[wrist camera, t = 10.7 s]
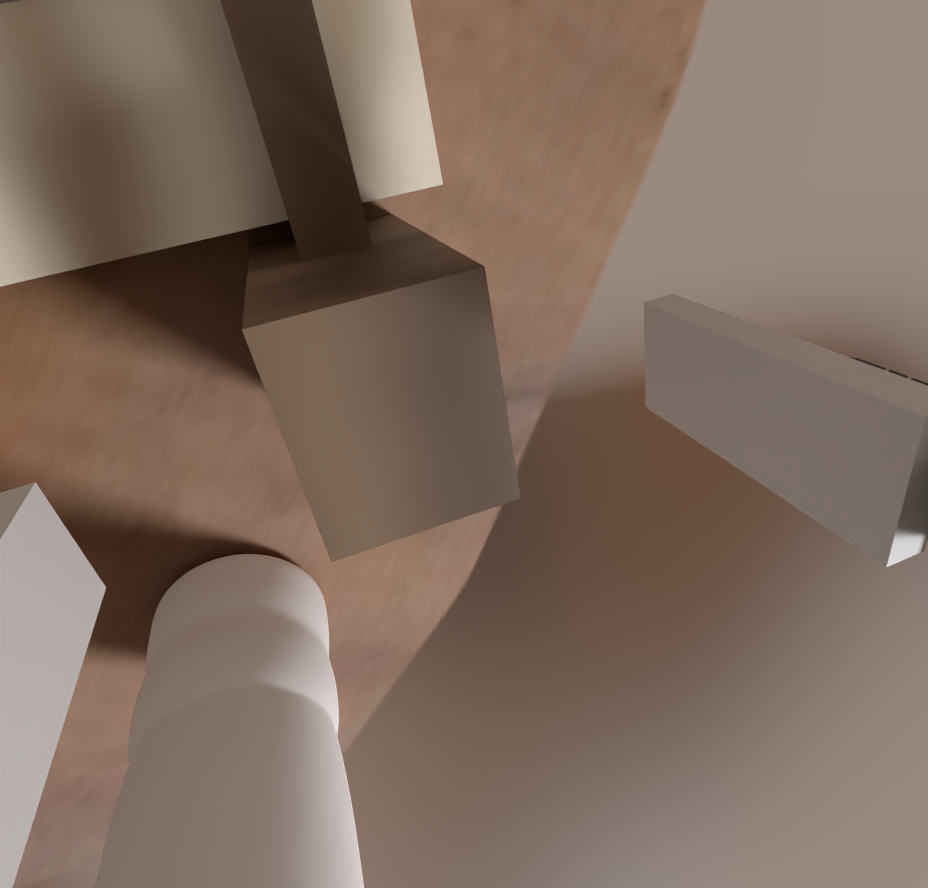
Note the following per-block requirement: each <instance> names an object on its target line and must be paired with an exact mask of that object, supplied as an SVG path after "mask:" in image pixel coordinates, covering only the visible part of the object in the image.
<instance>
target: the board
mask: <svg viewBox="0 0 928 888" xmlns="http://www.w3.org/2000/svg"><path fill="white" fill-rule="evenodd" d="M312 3H313V7H314V11H315V15H316V19H317V23H318V27H319V31H320V35H321V39H322V44H323V48H324V52H325V56H326V60H327V64H328V68H329V72H330V76H331V80H332V84H333V88H334V92H335V96H336V100H337V104H338V108H339V112H340V116H341V120H342V124H343V128H344V132H345V136H346V141H347V145H348V149H349V153H350V157H351V161H352V165H353V169H354V173H355V177H356V181H357V185H358V189H359V193H360V197H361V201H362V203H364V202H369V201H373V200H378V199H382V198H386V197H391V196H395V195H399V194H404V193H408V192H412V191H417V190H421V189H425V188H430V187H434V186H438V185H443V182H442V177H441V171H440V165H439V160H438V154H437V149H436V143H435V138H434V132H433V126H432V121H431V115H430V110H429V104H428V98H427V93H426V87H425V82H424V76H423V70H422V65H421V59H420V54H419V48H418V42H417V37H416V31H415V26H414V20H413V15H412V9H411V3H410V0H312ZM286 220H289V219H288V216H287V213H286V210H285V206H284V203H283V200H282V197H281V194H280V190H279V187H278V184H277V181H276V178H275V174H274V171H273V168H272V165H271V161H270V158H269V155H268V152H267V149H266V145H265V142H264V139H263V136H262V133H261V129H260V126H259V123H258V120H257V117H256V113H255V110H254V107H253V104H252V101H251V97H250V94H249V91H248V88H247V84H246V81H245V78H244V75H243V72H242V68H241V65H240V62H239V59H238V56H237V52H236V49H235V46H234V43H233V40H232V36H231V33H230V30H229V27H228V24H227V20H226V17H225V14H224V11H223V7H222V4H221V1H220V0H0V286H5V285H9V284H13V283H18V282H22V281H26V280H31V279H35V278H39V277H44V276H48V275H52V274H57V273H61V272H65V271H70V270H74V269H78V268H83V267H87V266H91V265H96V264H100V263H104V262H109V261H113V260H117V259H122V258H126V257H130V256H135V255H139V254H143V253H148V252H152V251H156V250H161V249H165V248H169V247H174V246H178V245H182V244H187V243H191V242H195V241H200V240H204V239H208V238H213V237H217V236H221V235H226V234H230V233H234V232H239V231H243V230H247V229H252V228H256V227H260V226H265V225H269V224H273V223H278V222H282V221H286Z"/></svg>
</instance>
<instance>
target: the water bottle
mask: <svg viewBox="0 0 928 888" xmlns="http://www.w3.org/2000/svg"><path fill="white" fill-rule="evenodd" d="M328 657H329V630H328V620H327V612H326V606H325V602H324V598H323V595H322V593H321V591H320V589H319V587H318V585H317V584H316V583H315V581H314V580H313V579H312V578H311V577H310V576H309V575H308V574H307V573H306V572H305V571H303V570H302V569H301V568H299V567H297V566H296V565H294V564H292V563H290V562H288V561H285V560H282V559H279V558H276V557H272V556H267V555H259V554H239V555H231V556H226V557H221V558H218V559H214V560H211V561H209V562H206V563H203V564H201V565H199V566H197V567H195V568H194V569H192V570H190V571H188V572H187V573H186V574H184V575H183V576H182V577H180V578H179V579H178V580H177V581H176V582H175V583H174V584H173V585H172V586H171V587H170V588H169V589H168V590H167V591H166V593H165V594H164V596H163V597H162V599H161V601H160V603H159V605H158V607H157V609H156V612H155V615H154V618H153V623H152V627H151V632H150V637H149V643H148V650H147V659H146V676H145V678H144V680H143V683H142V685H141V688H140V691H139V694H138V697H137V700H136V703H135V707H134V711H133V716H132V721H131V726H130V734H129V745H128V760H129V766H128V769H127V772H126V775H125V778H124V781H123V784H122V787H121V790H120V793H119V797H118V800H117V803H116V807H115V810H114V813H113V817H112V821H111V824H110V828H109V832H108V835H107V839H106V843H105V847H104V851H103V855H102V859H101V863H100V867H99V871H98V875H97V879H96V884H95V888H364V884H363V877H362V869H361V862H360V855H359V848H358V841H357V834H356V828H355V822H354V816H353V809H352V804H351V797H350V792H349V787H348V782H347V777H346V771H345V767H344V762H343V758H342V753H341V749H340V745H339V742H338V738H337V733H338V721H339V709H338V697H337V689H336V683H335V678H334V673H333V670H332V666H331V663H330V660H329V658H328Z"/></svg>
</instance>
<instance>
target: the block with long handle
mask: <svg viewBox="0 0 928 888" xmlns="http://www.w3.org/2000/svg"><path fill="white" fill-rule="evenodd" d="M220 1H221V4H222V7H223V11H224V14H225V17H226V20H227V24H228V27H229V30H230V33H231V36H232V40H233V43H234V46H235V49H236V52H237V56H238V59H239V62H240V65H241V68H242V72H243V75H244V78H245V81H246V84H247V88H248V91H249V94H250V97H251V101H252V104H253V107H254V110H255V113H256V117H257V120H258V123H259V126H260V129H261V133H262V136H263V139H264V142H265V145H266V149H267V152H268V155H269V158H270V161H271V165H272V168H273V171H274V174H275V178H276V181H277V184H278V187H279V190H280V194H281V197H282V200H283V203H284V206H285V210H286V213H287V216H288V219H289V222H290V226H291V229H292V232H293V235H294V238H289V239H285V240H281V241H277V242H273V243H268V244H264V245H260V246H256V247H251V248H250V251H249V261H248V271H247V281H246V291H245V302H244V312H243V322H242V332H243V334H244V337H245V339H246V342H247V345H248V347H249V350H250V352H251V355H252V357H253V360H254V363H255V365H256V368H257V370H258V373H259V376H260V378H261V381H262V383H263V386H264V389H265V391H266V394H267V396H268V399H269V402H270V404H271V407H272V409H273V412H274V414H275V417H276V420H277V422H278V425H279V427H280V430H281V433H282V435H283V438H284V440H285V443H286V446H287V448H288V451H289V453H290V456H291V459H292V461H293V464H294V466H295V469H296V471H297V474H298V477H299V479H300V482H301V484H302V487H303V490H304V492H305V495H306V497H307V500H308V503H309V505H310V508H311V510H312V513H313V516H314V518H315V521H316V523H317V526H318V528H319V531H320V534H321V536H322V539H323V541H324V544H325V547H326V549H327V552H328V554H329V557H330V560H331V562H333V561H336V560H339V559H342V558H345V557H348V556H351V555H354V554H357V553H360V552H363V551H366V550H369V549H372V548H375V547H377V546H380V545H383V544H386V543H389V542H392V541H395V540H398V539H401V538H404V537H407V536H410V535H413V534H416V533H419V532H422V531H425V530H428V529H431V528H434V527H437V526H440V525H443V524H446V523H449V522H451V521H454V520H457V519H460V518H463V517H466V516H469V515H472V514H475V513H478V512H481V511H484V510H487V509H490V508H493V507H496V506H499V505H502V504H505V503H508V502H511V501H514V500H516V499H520V492H519V486H518V480H517V473H516V467H515V460H514V454H513V447H512V441H511V434H510V428H509V422H508V415H507V409H506V402H505V396H504V389H503V383H502V376H501V370H500V364H499V357H498V351H497V344H496V338H495V331H494V325H493V318H492V312H491V305H490V299H489V293H488V286H487V280H486V273H485V267H484V266H483V265H481V264H479V263H477V262H475V261H474V260H472V259H470V258H468V257H467V256H465V255H463V254H461V253H460V252H458V251H456V250H454V249H452V248H451V247H449V246H447V245H445V244H444V243H442V242H440V241H438V240H437V239H435V238H433V237H431V236H429V235H428V234H426V233H424V232H422V231H421V230H419V229H417V228H415V227H414V226H412V225H410V224H408V223H407V222H405V221H403V220H401V219H399V218H398V217H396V216H394V215H392V214H391V215H387V216H383V217H379V218H374V219H370V220H366V217H365V213H364V209H363V205H362V201H361V197H360V193H359V189H358V185H357V181H356V177H355V173H354V169H353V165H352V161H351V157H350V153H349V149H348V145H347V141H346V136H345V132H344V128H343V124H342V120H341V116H340V112H339V108H338V104H337V100H336V96H335V92H334V88H333V84H332V80H331V76H330V72H329V68H328V64H327V60H326V56H325V52H324V48H323V44H322V39H321V35H320V31H319V27H318V23H317V19H316V15H315V11H314V7H313V3H312V0H220Z"/></svg>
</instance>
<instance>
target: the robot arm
mask: <svg viewBox="0 0 928 888" xmlns="http://www.w3.org/2000/svg"><path fill="white" fill-rule="evenodd" d="M644 324H645V325H644V327H645V387H646V407H647V408H648V409H650V410H651V411H653V412H654V413H656V414H657V415H659V416H660V417H662V418H663V419H665V420H666V421H668V422H669V423H671V424H672V425H674V426H675V427H677V428H678V429H680V430H681V431H683V432H684V433H686V434H687V435H689V436H690V437H692V438H693V439H695V440H696V441H698V442H699V443H701V444H702V445H704V446H705V447H707V448H708V449H710V450H711V451H713V452H714V453H716V454H717V455H719V456H720V457H722V458H723V459H725V460H726V461H728V462H729V463H731V464H732V465H734V466H735V467H737V468H738V469H740V470H741V471H743V472H744V473H746V474H747V475H749V476H750V477H752V478H753V479H755V480H756V481H758V482H759V483H761V484H762V485H764V486H765V487H767V488H768V489H770V490H771V491H773V492H774V493H776V494H777V495H779V496H780V497H782V498H784V499H785V500H786V501H788V502H789V503H791V504H792V505H794V506H795V507H797V508H798V509H800V510H801V511H803V512H804V513H806V514H807V515H809V516H810V517H812V518H813V519H815V520H816V521H818V522H819V523H821V524H822V525H824V526H825V527H827V528H828V529H830V530H831V531H833V532H834V533H836V534H837V535H839V536H840V537H842V538H844V539H845V540H846V541H848V542H849V543H851V544H852V545H854V546H855V547H857V548H858V549H860V550H861V551H863V552H864V553H866V554H867V555H869V556H870V557H872V558H873V559H875V560H876V561H878V562H879V563H881V564H882V565H884V566H885V567H888V566H890V565H893V564H895V563H897V562H900V561H902V560H904V559H906V558H908V557H911V556H913V555H916V554H918V553H920V552H923V551H924V549H925V546H926V542H927V539H928V383H925V382H922V381H919V380H917V379H914V378H912V379H908V378H907V376H906V375H903V374H900V373H897V372H894V371H891V370H889V371H886V370H885V368H883V367H880V366H878V365H875V364H872V363H869V362H866V361H864V360H861V359H858V358H851V357H846V356H844V355H841V354H838V353H835V352H833V351H830V350H827V349H824V348H821V347H819V346H816V345H813V344H810V343H807V342H805V341H802V340H799V339H796V338H793V337H791V336H788V335H785V334H782V333H780V332H777V331H774V330H771V329H768V328H766V327H763V326H760V325H757V324H755V323H752V322H749V321H746V320H743V319H741V318H738V317H735V316H732V315H730V314H727V313H724V312H721V311H718V310H716V309H713V308H710V307H707V306H704V305H702V304H699V303H696V302H693V301H690V300H688V299H685V298H682V297H679V296H677V295H674V294H671V295H668V296H665V297H661V298H658V299H655V300H651V301H647V302H644ZM105 590H106V587H105V585H104V584H103V582H102V581H101V579H100V578H99V576H98V575H97V573H96V572H95V570H94V569H93V567H92V566H91V564H90V563H89V561H88V560H87V558H86V557H85V555H84V554H83V552H82V551H81V549H80V548H79V546H78V545H77V543H76V542H75V540H74V539H73V537H72V536H71V534H70V533H69V531H68V530H67V528H66V527H65V525H64V524H63V523H62V521H61V520H60V518H59V517H58V515H57V514H56V512H55V511H54V509H53V508H52V506H51V505H50V503H49V502H48V500H47V499H46V497H45V496H44V494H43V493H42V491H41V490H40V488H39V487H38V485H37V484H36V482H35V483H31V484H28V485H24V486H21V487H18V488H14V489H11V490H8V491H4V492H1V493H0V888H12V887H13V884H14V881H15V878H16V874H17V871H18V868H19V865H20V862H21V858H22V855H23V852H24V849H25V846H26V842H27V839H28V836H29V833H30V830H31V826H32V823H33V820H34V817H35V814H36V810H37V807H38V804H39V801H40V798H41V794H42V791H43V788H44V785H45V782H46V778H47V775H48V772H49V769H50V766H51V762H52V759H53V756H54V753H55V750H56V746H57V743H58V740H59V737H60V734H61V730H62V727H63V724H64V721H65V718H66V715H67V711H68V708H69V705H70V702H71V699H72V695H73V692H74V689H75V686H76V683H77V679H78V676H79V673H80V670H81V667H82V663H83V660H84V657H85V654H86V651H87V647H88V644H89V641H90V638H91V635H92V631H93V628H94V625H95V622H96V619H97V615H98V612H99V609H100V606H101V603H102V599H103V596H104V593H105Z"/></svg>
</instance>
